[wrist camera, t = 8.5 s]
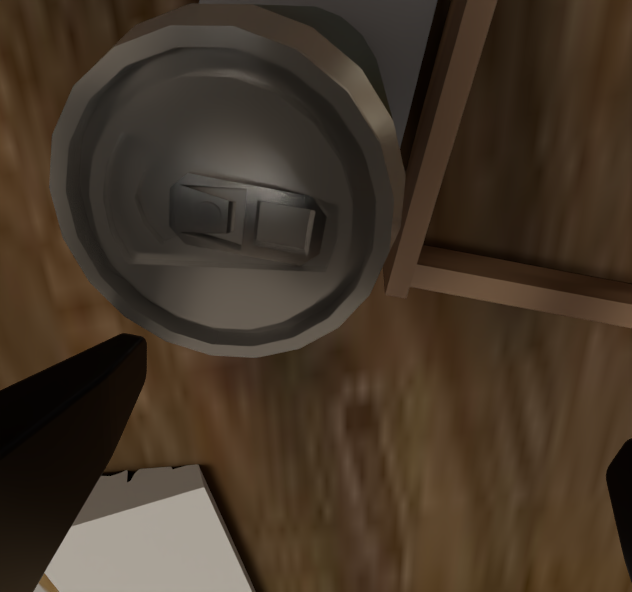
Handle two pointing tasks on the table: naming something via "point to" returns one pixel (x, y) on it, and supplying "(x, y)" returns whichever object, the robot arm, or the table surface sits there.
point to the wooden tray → (423, 187)
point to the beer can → (231, 176)
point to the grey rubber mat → (382, 41)
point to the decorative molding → (149, 538)
